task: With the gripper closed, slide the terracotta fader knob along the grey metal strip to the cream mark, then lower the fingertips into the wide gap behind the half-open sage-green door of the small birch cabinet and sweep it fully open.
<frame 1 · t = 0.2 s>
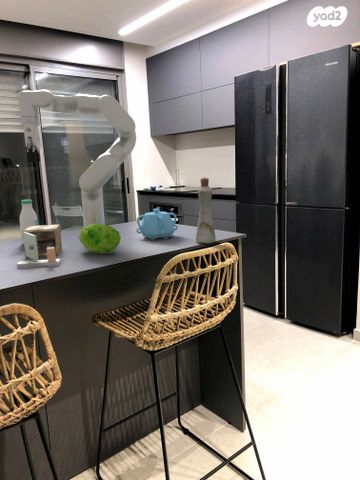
hand: (34, 161, 172), 37 cm above the table, tool pointing down, fingers open, 9 cm apart
decorative pot: (157, 237, 184), on the table
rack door: (28, 246, 147), point 5 cm above the table, hinge at 60.0°
bottle: (205, 242, 169), on the table
fader knob: (51, 253, 139), point 4 cm above the table, slide at 1.0 cm
lettuce: (99, 253, 156), on the table
cabinet: (45, 252, 159), on the table
fader strip: (39, 265, 139), on the table
milk bottle: (31, 243, 179), on the table
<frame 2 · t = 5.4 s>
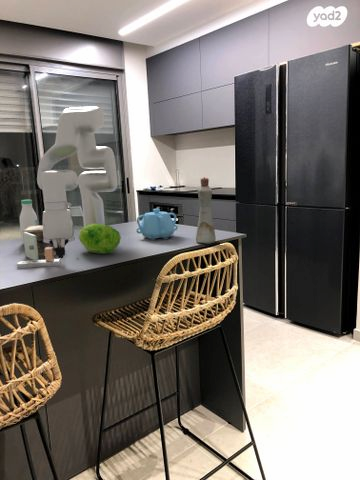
hand: (60, 257, 140), 2 cm above the table, tool pointing down, fingers closed
fader knob: (49, 253, 139), point 4 cm above the table, slide at 1.7 cm, touching gripper
everything else where it was.
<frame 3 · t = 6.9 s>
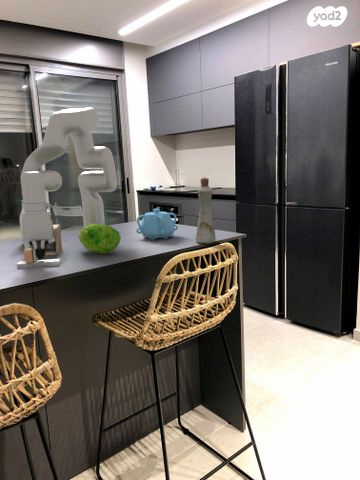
hand: (40, 258, 138), 2 cm above the table, tool pointing down, fingers closed
fader knob: (29, 255, 138), point 4 cm above the table, slide at 8.6 cm, touching gripper
everything else where it was.
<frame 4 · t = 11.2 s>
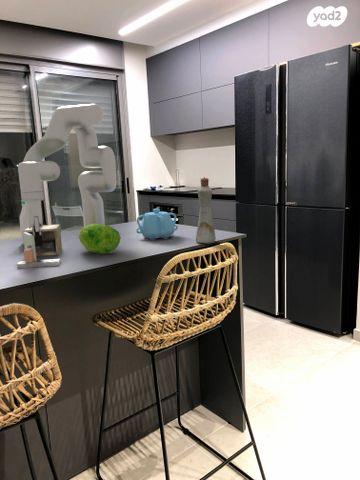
hand: (38, 245, 145), 6 cm above the table, tool pointing down, fingers closed
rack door: (27, 246, 147), point 5 cm above the table, hinge at 63.7°, touching gripper
fader knob: (29, 255, 138), point 4 cm above the table, slide at 8.6 cm
everything else where it was.
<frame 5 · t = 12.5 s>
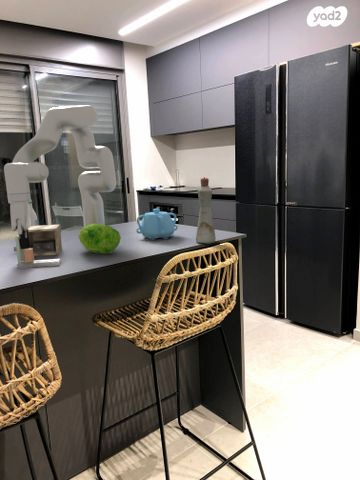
hand: (25, 248, 142), 5 cm above the table, tool pointing down, fingers closed
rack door: (20, 246, 146), point 5 cm above the table, hinge at 89.7°, touching gripper
everything else where it was.
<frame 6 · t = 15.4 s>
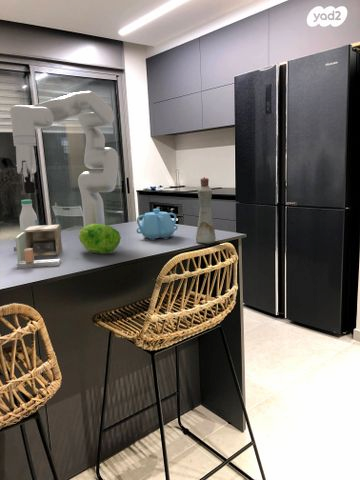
hand: (30, 193, 143), 25 cm above the table, tool pointing down, fingers closed
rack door: (20, 246, 146), point 5 cm above the table, hinge at 89.8°
everything else where it was.
at the end: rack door at +90° (first picture: +60°); fader knob slide at 8.6 cm; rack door touching nothing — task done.
